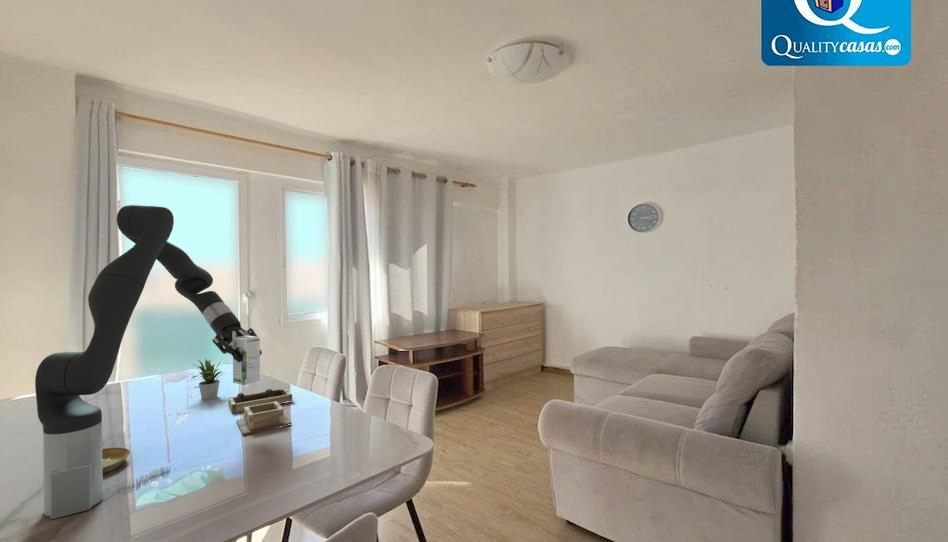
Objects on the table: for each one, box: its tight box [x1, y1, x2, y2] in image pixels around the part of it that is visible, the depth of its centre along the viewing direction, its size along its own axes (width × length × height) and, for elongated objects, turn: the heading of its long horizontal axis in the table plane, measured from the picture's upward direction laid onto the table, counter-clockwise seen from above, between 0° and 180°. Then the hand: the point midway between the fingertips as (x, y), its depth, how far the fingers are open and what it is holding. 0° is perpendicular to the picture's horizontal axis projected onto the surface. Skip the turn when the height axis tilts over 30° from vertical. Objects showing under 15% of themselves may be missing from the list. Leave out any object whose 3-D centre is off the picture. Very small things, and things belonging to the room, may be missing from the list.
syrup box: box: [232, 336, 261, 386], centre depth 133 cm, size 6×6×14 cm
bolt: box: [236, 388, 283, 403], centre depth 158 cm, size 6×5×15 cm
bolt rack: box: [227, 388, 293, 415], centre depth 157 cm, size 10×20×3 cm, turn 127°
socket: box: [236, 401, 293, 437], centre depth 137 cm, size 14×14×5 cm
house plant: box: [188, 358, 229, 401], centre depth 165 cm, size 14×14×16 cm
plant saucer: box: [102, 447, 131, 474], centre depth 107 cm, size 15×15×3 cm
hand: (250, 357), depth 132 cm, fingers closed on syrup box, 6 cm apart
